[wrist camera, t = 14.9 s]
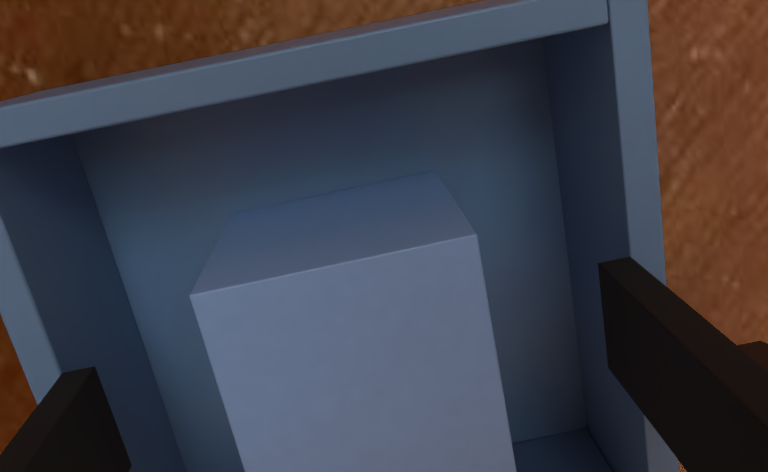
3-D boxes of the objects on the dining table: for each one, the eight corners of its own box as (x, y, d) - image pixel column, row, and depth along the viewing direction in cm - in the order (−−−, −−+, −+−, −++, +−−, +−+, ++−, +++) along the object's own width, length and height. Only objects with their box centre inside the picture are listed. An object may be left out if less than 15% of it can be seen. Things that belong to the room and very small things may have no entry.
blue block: (435, 169, 20) (477, 234, 14) (469, 353, 22) (517, 476, 16) (230, 213, 20) (188, 295, 14) (281, 393, 22) (262, 530, 16)
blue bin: (559, -16, 19) (647, -26, 14) (606, 431, 24) (685, 554, 18) (36, 91, 19) (-80, 122, 14) (186, 519, 24) (142, 667, 18)
